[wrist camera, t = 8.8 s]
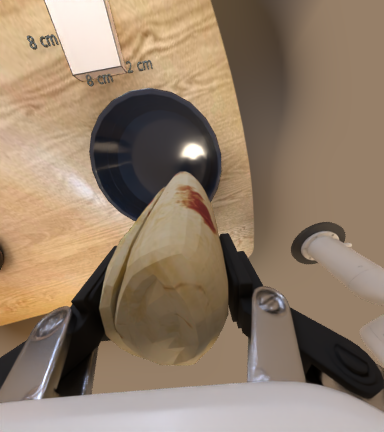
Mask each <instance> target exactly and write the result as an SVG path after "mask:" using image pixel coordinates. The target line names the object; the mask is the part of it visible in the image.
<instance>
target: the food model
mask: <svg viewBox="0 0 384 432" xmlns="http://www.w3.org/2000/svg"><path fill="white" fill-rule="evenodd" d="M99 310H100V314H101V318H102V322H103V325H104V329H105V333H106V336H107V337H108V338H109V339H110V340H112V341H113V342H114V343H115V344H116V345H117V346H118V347H119V348H121V349H123V350H125V351H126V352H128V353H130V354H132V355H135V356H138V357H142V358H143V359H147V360H149V361H152V362H154V363H157V364H159V365H178V366H187V365H192V364H195V363H196V362H197V361H198V360H199V359H200V358H201V357H202V356H203V355H204V354H205V353H206V352H208V351H209V350H210V349H211V347H212V346H213V344H214V343H215V341H216V340H217V338H218V336H219V334H220V332H221V331H222V328H223V326H224V324H225V321H226V319H227V316H228V279H227V273H226V267H225V262H224V256H223V250H222V247H221V243H220V239H219V235H218V229H217V224H216V220H215V216H214V212H213V209H212V205H211V203H210V201H209V199H208V197H207V195H206V192H205V190H204V189H203V187H202V186H201V184H200V183H199V182H198V181H197V180H196V178H195V177H194V176H193V175H191V174H190V173H188V172H179V173H177V174H176V175H175V176H174V177H173V178H172V179H171V181H170V182H169V183H168V185H167V186H166V187H164V188H162V189H161V190H160V191H159V192H158V194H157V195H156V196H155V197H154V199H153V200H152V201H151V202H150V203H149V205H148V206H147V207H146V209H145V210H144V211H143V212H142V214H141V215H140V216H139V218H138V219H137V220H136V222H135V223H134V225H133V226H132V227H131V229H130V230H129V231H128V232H127V233H126V234H125V236H124V237H123V238H122V239H121V240H120V242H119V244H118V246H117V248H116V250H115V252H114V254H113V256H112V258H111V260H110V263H109V265H108V267H107V271H106V275H105V279H104V282H103V288H102V294H101V300H100V306H99Z"/></svg>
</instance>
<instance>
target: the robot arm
mask: <svg viewBox="0 0 384 432" xmlns="http://www.w3.org/2000/svg"><path fill="white" fill-rule="evenodd" d="M219 239H220V243H221V247H222V250H223V256H224V262H225V267H226V273H227V279H228V305H229V309H230V312H231V317H232V320H233V322H237V325H238V328H242V332H243V333H244V334H245V335H246V336H248V363H247V365H248V366H247V383H233V384H219V385H205V386H192V387H179V388H166V389H154V390H141V391H129V392H117V393H105V394H92V388H93V380H94V374H95V366H96V359H97V352H98V346H99V343H100V341H108V340H110V339H109V338H108V337H107V336H106V333H105V329H104V325H103V322H102V318H101V314H100V310H99V306H100V300H101V294H102V288H103V282H104V279H105V275H106V271H107V267H108V265H109V263H110V260H111V258H112V256H113V254H114V252H115V250H116V248H117V246H114V247H113V249H112V250H111V251H110V252H109V254H108V255H107V256H106V258H105V259H104V260H103V261H102V263H101V264H100V265H99V266H98V268H97V269H96V270H95V272H94V273H93V274H92V275H91V277H90V278H89V279H88V281H87V282H86V283H85V284H84V286H83V287H82V288H81V290H80V291H79V292H78V293H77V295H76V296H75V297H74V298H73V300H72V301H71V302H72V303H73V304H72V306H71V307H68V306H64V307H60V308H58V309H55V310H53V311H52V312H50V313H49V314H47V315H46V316H45V317H44V318H42V319H41V320H40V321H39V323H37V325H36V326H35V327H34V329H33V330H32V332H31V334H30V336H29V337H28V339H27V340H26V341H25V342H23V343H22V344H20V345H19V346H17V347H16V348H14V349H13V350H11V351H10V352H8V353H7V354H5V355H4V356H2V357H1V358H0V432H384V314H383V315H381V316H379V317H378V318H376V319H374V320H372V321H371V322H369V323H367V324H366V325H364V326H363V327H362V328H361V329H360V337H361V339H362V341H363V342H364V343H365V345H366V346H367V348H368V349H369V350H370V352H371V353H372V354H373V355H374V357H375V358H376V359H377V360H378V362H379V363H380V364H381V365H382V367H381V366H379V365H377V364H376V363H375V362H374V361H373V360H372V359H371V358H370V356H369V355H368V354H367V353H366V352H365V351H363V350H362V349H361V348H360V347H359V346H358V345H356V344H354V343H353V342H351V341H350V340H348V339H346V338H344V337H343V336H341V335H339V334H337V333H335V332H334V331H332V330H330V329H328V328H327V327H325V326H323V325H321V324H319V323H317V322H316V321H314V320H312V319H310V318H308V317H306V316H305V315H303V314H301V313H299V312H298V311H296V310H294V309H292V308H290V306H289V304H288V301H287V300H286V298H285V297H284V296H283V295H282V294H281V293H280V292H279V291H277V290H275V289H274V288H271V287H266V286H263V284H262V283H261V281H260V279H259V277H258V275H257V274H256V272H255V270H254V268H253V267H252V265H251V263H250V261H249V259H248V257H247V256H246V254H245V252H244V251H239V252H237V250H236V248H235V246H234V244H233V242H232V239H231V237H230V235H229V234H228V233H226V234H220V236H219ZM351 246H352V244H351V243H343V242H341V241H339V237H338V236H337V235H336V234H335V233H333V232H330V231H321V232H318V233H315V234H313V235H311V236H310V237H309V238H307V239H306V240H305V242H304V243H303V245H302V247H301V253H302V255H303V256H304V257H305V258H306V259H309V260H315V261H317V262H318V263H319V264H320V265H321V266H322V267H324V268H325V269H326V270H327V271H328V272H329V273H331V274H332V275H333V276H334V277H335V278H336V279H337V280H339V281H340V282H341V283H342V284H343V285H344V286H346V287H347V288H348V289H349V290H350V291H352V292H353V293H354V294H355V295H356V296H358V297H359V298H361V299H363V300H365V301H367V302H370V303H373V304H376V305H381V306H384V268H382V267H380V266H379V265H377V264H375V263H374V262H372V261H370V260H369V259H367V258H366V257H364V256H362V255H360V254H359V253H357V252H355V251H354V250H353V249H352V248H350V247H351Z"/></svg>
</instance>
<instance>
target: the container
mask: <svg viewBox="0 0 384 432" xmlns="http://www.w3.org/2000/svg"><path fill="white" fill-rule="evenodd" d="M44 2H45V4H46V7H47V10H48V12H49V15H50V17H51V20H52V23H53V25H54V28H55V30H56V33H57V36H58V38H59V41H60V43H61V46H62V49H63V51H64V54H65V56H66V59H67V62H68V64H69V67H70V70H71V72H72V75H73V76H74V77H76V78H77V79H79V80H80V81H86V80H88V81H87V83H88V85H89V86H93V85H94V83H93V81H92V79H97V80H98V82H99V83H100V84H104V83H105V84H106V81H105V77H107V80H108V83H110V81H109V78H108V76H110V77H111V80H112V82H113V78H112V76H113V75H119V74H124V73H127V71H126V68H125V64H124V60H123V56H122V52H121V48H120V44H119V40H118V36H117V33H116V29H115V25H114V21H113V17H112V13H111V9H110V5H109V2H108V0H44ZM52 37H54V39H55V41H56V44H57V45H59V44H58V42H57V39H56V37H55V36H54V35H52V34H51V36H49V35H47V36H45V37H43V36H42V37H40V42H41V44H42V45H43V46H44V47H48V45H49V46H51V45H50V42H49V40H48V39H49V38H50V40H51V42H52V45H54V46H55V44H54V42H53V39H52ZM30 38H31V39H32V41H30ZM45 38H46V40H47V43H48V45H47V44H46V45H44V44H43V41H42V40H43V39H45ZM27 40H28V41H29V42H30V47H31V48H32V49H34V50H36V49H37V45H36V44H35V43H34V39H33V37H31V36H27ZM32 44H34V45H35V47H33V46H32ZM142 62H143V61H142ZM148 62H150V64H151V69H153V68H152V63H151V61H150V60H148V61H144V62H143V67H144V70H145V66H144V64H145V63H147V68H148V69H149V67H148ZM127 63H130V62H129V61H127V62H126V64H127ZM139 64H142V63H141V62H138V64H137V67H138V69H139ZM130 70H131V63H130V68H129V70H128V73H132V72H133V70H132V71H130ZM139 70H140V71H143V69H139ZM99 78H103V79H104V83H103V82H102V83H101V82H100V81H99ZM89 81H91V82H92V84H91V85H90V84H89Z"/></svg>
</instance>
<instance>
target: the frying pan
mask: <svg viewBox="0 0 384 432" xmlns="http://www.w3.org/2000/svg"><path fill="white" fill-rule="evenodd" d="M2 265H3V256H2V253H1V251H0V270H1V268H2Z"/></svg>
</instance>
